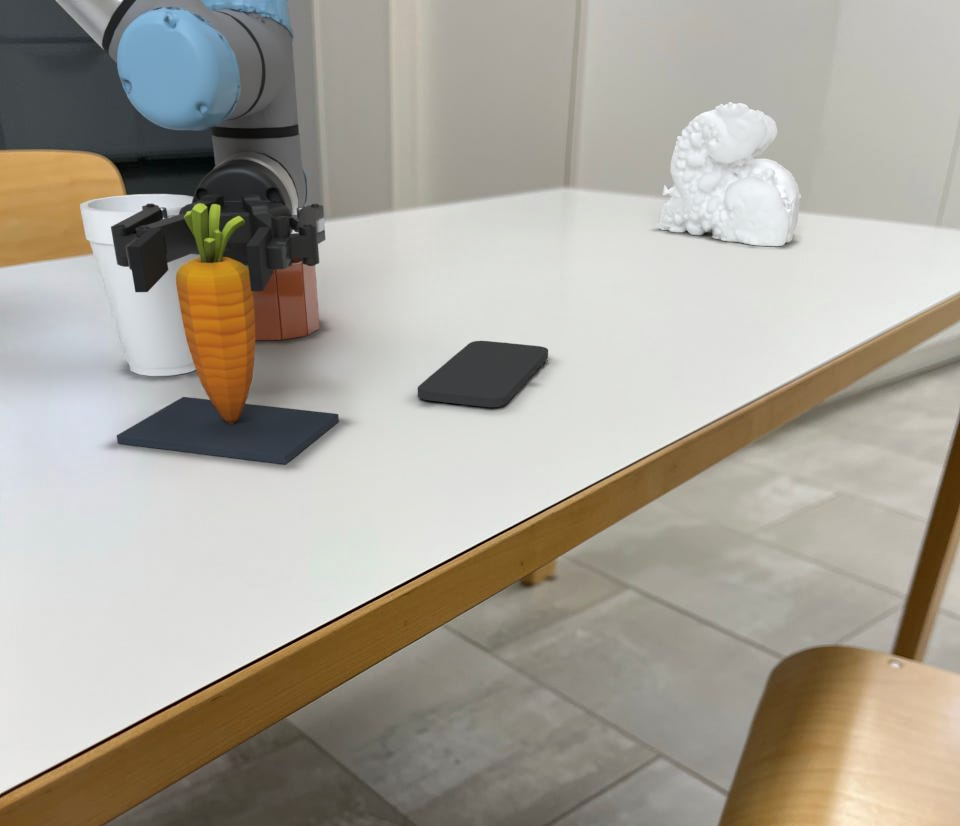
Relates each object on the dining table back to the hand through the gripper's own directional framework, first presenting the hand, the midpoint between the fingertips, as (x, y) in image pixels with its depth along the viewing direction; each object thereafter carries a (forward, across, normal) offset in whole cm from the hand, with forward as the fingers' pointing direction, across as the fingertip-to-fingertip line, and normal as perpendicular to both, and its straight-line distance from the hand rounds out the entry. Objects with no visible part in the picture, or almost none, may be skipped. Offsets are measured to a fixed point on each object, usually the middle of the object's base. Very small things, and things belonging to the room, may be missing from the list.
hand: (196, 269), depth 63 cm
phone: (-17, -19, -12) cm, 29 cm away
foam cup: (-22, +8, -12) cm, 26 cm away
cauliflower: (-82, -57, -13) cm, 101 cm away
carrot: (-5, 0, -12) cm, 13 cm away
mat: (-5, 0, -12) cm, 13 cm away
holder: (-34, 0, -12) cm, 36 cm away
